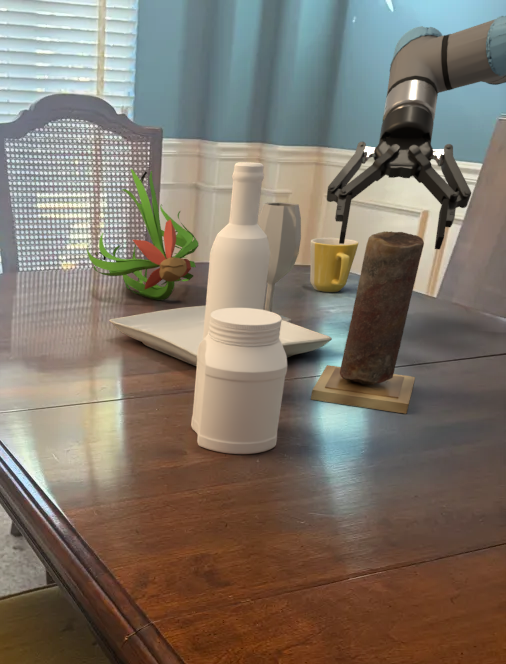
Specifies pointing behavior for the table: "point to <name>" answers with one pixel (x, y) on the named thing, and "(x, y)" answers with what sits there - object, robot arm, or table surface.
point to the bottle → (239, 249)
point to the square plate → (201, 333)
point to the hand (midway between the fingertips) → (390, 240)
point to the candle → (381, 306)
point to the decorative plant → (152, 250)
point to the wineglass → (280, 242)
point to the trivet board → (364, 391)
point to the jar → (239, 382)
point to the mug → (331, 263)
